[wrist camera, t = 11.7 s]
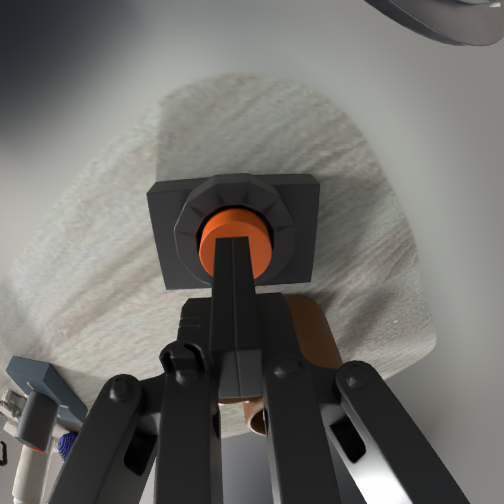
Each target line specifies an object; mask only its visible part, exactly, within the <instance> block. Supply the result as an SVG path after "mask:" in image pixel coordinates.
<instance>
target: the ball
mask: <svg viewBox="0 0 504 504" xmlns="http://www.w3.org/2000/svg"><path fill="white" fill-rule="evenodd" d="M77 435H78V433H75V432H74V433H72V432H70V433H67V434H64V435H63V436H62V437H61V438H60V440H59V443H58V450H59V453H60V455H61V457H62V458H63V460H64V461H65V460H66V457H67V455H68V453H69V451H70V449H71V447H72V445H73V443H74V441H75V439H76V437H77Z"/></svg>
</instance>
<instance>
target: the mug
mask: <svg viewBox="0 0 504 504" xmlns="http://www.w3.org/2000/svg"><path fill="white" fill-rule="evenodd" d="M283 296H284V297H285V298H286V299H287V300H288V303H289V307H290V312H291V315H292V318H293V322H294V326H295V330H296V334H297V338H298V342H299V346H300V350H301V352H302V355H303V356H304V357H305V358H306V360H308V361H309V362H310V363H312V364H314V365H317V366H320V367H326V368H334V369H339V368H340V366H341V365H343V362H342V360H341V357H340V354H339V351H338V348H337V345H336V343H335V340H334V338H333V335H332V333H331V330H330V327H329V324H328V322H327V319H326V317H325V315H324V313H323V311H322V310H321V308H320V307H319V306H318V305H317V304H316V303H315V302H314V301H312V300H310V299H308V298H306V297H303V296H300V295H293V294H284V295H283ZM242 402H243V408H244V413H245V421H246V425H247V426H248V428H249V429H250V430H251V431H252V432H254V433H256V434H259V435H262V436H266V430H265V421H264V420H263V396H258V397H243V398H220V399H219V405H222V406H226V405H232V404H237V403H242ZM324 428H325V427H324Z"/></svg>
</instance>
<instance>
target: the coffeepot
mask: <svg viewBox="0 0 504 504" xmlns="http://www.w3.org/2000/svg"><path fill="white" fill-rule="evenodd" d="M6 422H7V418H6V417H5V416H4V415H3V414H1V413H0V433H1V431H2V429H3V428H4V426H5V424H6ZM1 444H2V445H3V460H2V461H1V460H0V466H5V465H7V446H6V444H5V443H4V442H3V441H1Z"/></svg>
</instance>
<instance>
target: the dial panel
mask: <svg viewBox="0 0 504 504" xmlns="http://www.w3.org/2000/svg"><path fill="white" fill-rule="evenodd" d="M6 372H7V373H8V374H9V376H10V377H11V378H12V379H13V380H14V382H15V383H16V384H17V385H18V386H19V387H20V388H21V389H22V390H23V392H24V393H25V394H26V395H25V394H24V396H26V397H29V394H30V392H31V391H35V392H38V393H41V394H43V395H45V396H46V397H48V398H50V399H51V400H52V401H54V402H55V403H56V404H57V405H58V406H59V412H58V416H57V418H58V419H62V420H66V421H70V422H74V423H78V424H82V425H83V423H84V421H85V419H86V415H87V412H88V409H87V408H86V407H85V406H84V404H83V403H82V402H81V401H80V400H79V399H78V398H77V397H76V395H75V394H74V393H73V392H72V391H71V389H70V388H69V387H68V386H67V385H66V383H65V382H64V381H63V380H62V378H61V377H60V376H59V375H58V373H57V372H56V371H55V369H54V368H53V367H52V365H51V364H50V363H45V362H40V361H35V360H30V359H25V358H21V357H16V356H13V357H12V359H11V361H10V363H9V365H8V367H7V369H6Z"/></svg>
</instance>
